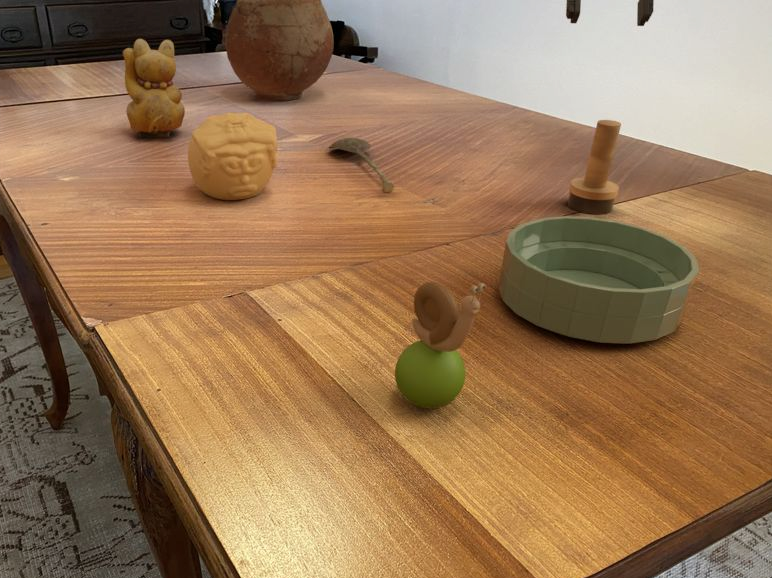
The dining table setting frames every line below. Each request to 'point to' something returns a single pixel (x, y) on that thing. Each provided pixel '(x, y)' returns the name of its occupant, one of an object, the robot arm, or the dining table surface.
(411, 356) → the snail figurine
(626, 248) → the bowl
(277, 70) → the jug
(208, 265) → the dining table surface
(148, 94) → the decorative figurine
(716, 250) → the dining table surface
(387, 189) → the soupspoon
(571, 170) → the dining table surface
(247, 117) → the sculpture
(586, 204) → the dish brush
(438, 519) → the dining table surface
